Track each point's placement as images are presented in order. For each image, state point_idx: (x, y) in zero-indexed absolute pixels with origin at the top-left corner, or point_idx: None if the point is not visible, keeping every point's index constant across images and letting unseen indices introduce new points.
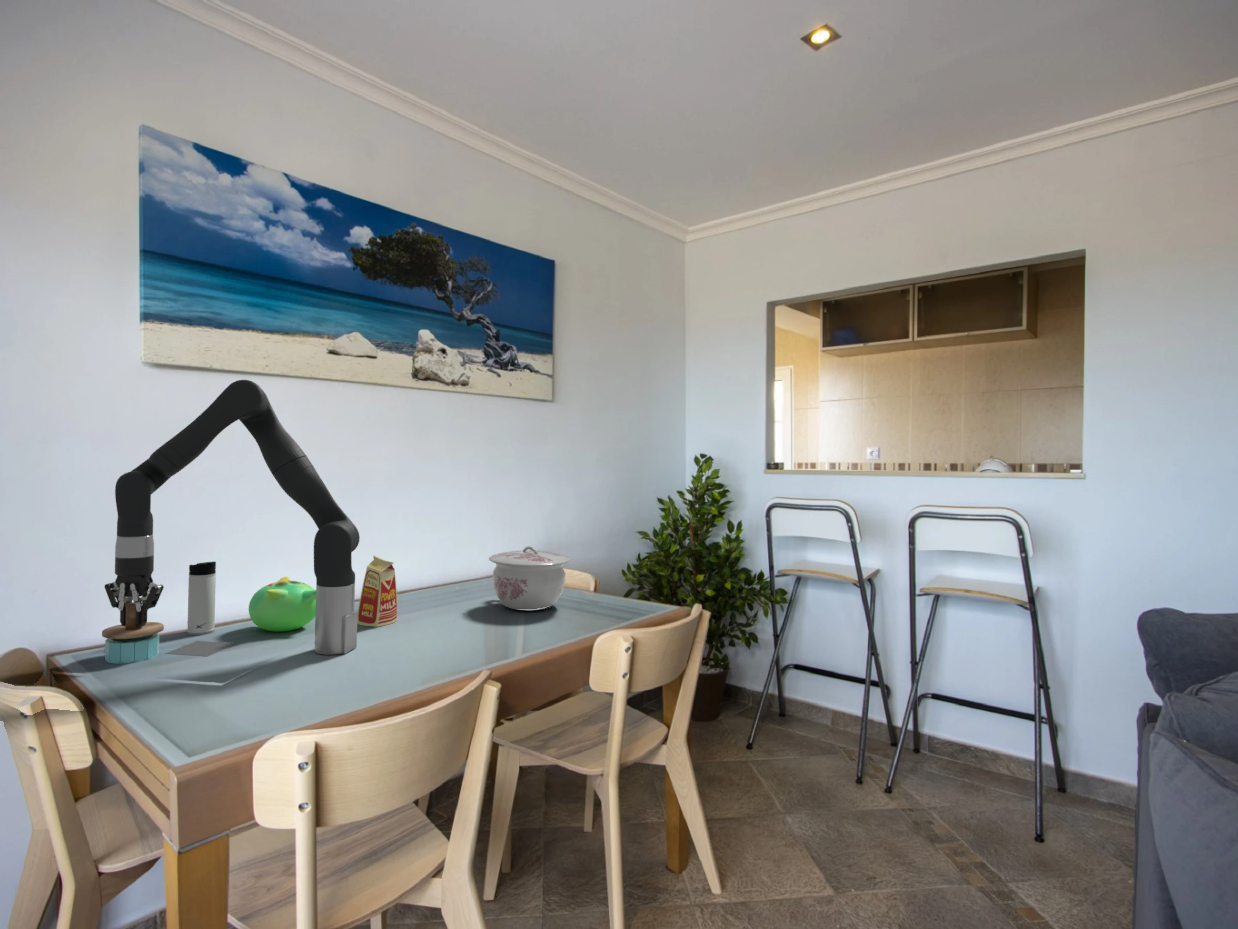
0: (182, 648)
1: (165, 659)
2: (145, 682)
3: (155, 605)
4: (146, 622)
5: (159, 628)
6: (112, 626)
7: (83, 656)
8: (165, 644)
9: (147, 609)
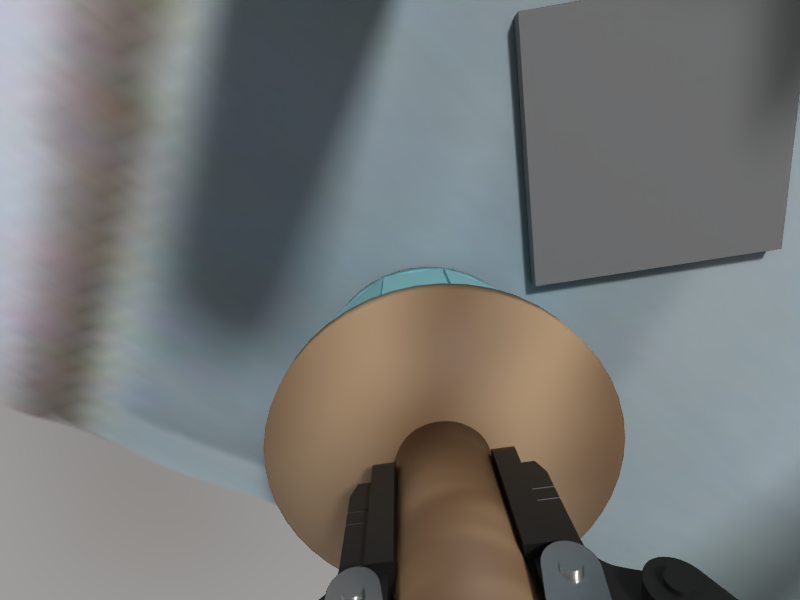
0: (557, 187)
1: (575, 321)
2: (710, 535)
3: (702, 578)
4: (539, 466)
5: (613, 407)
6: (267, 473)
7: (195, 407)
8: (357, 116)
9: (603, 570)
